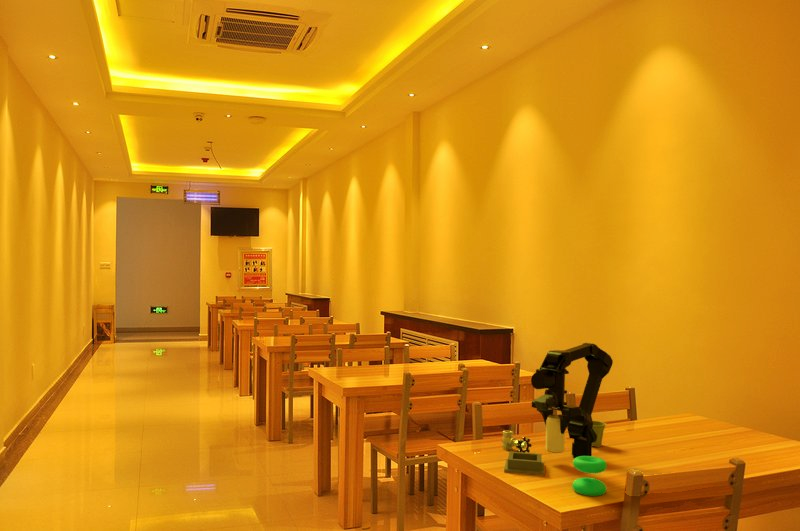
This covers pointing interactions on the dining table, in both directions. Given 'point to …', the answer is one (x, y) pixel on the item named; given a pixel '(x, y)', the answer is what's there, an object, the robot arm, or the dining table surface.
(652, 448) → the dining table surface
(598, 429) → the plant pot
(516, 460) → the socket holder
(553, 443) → the can
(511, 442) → the valve
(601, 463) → the donuts
